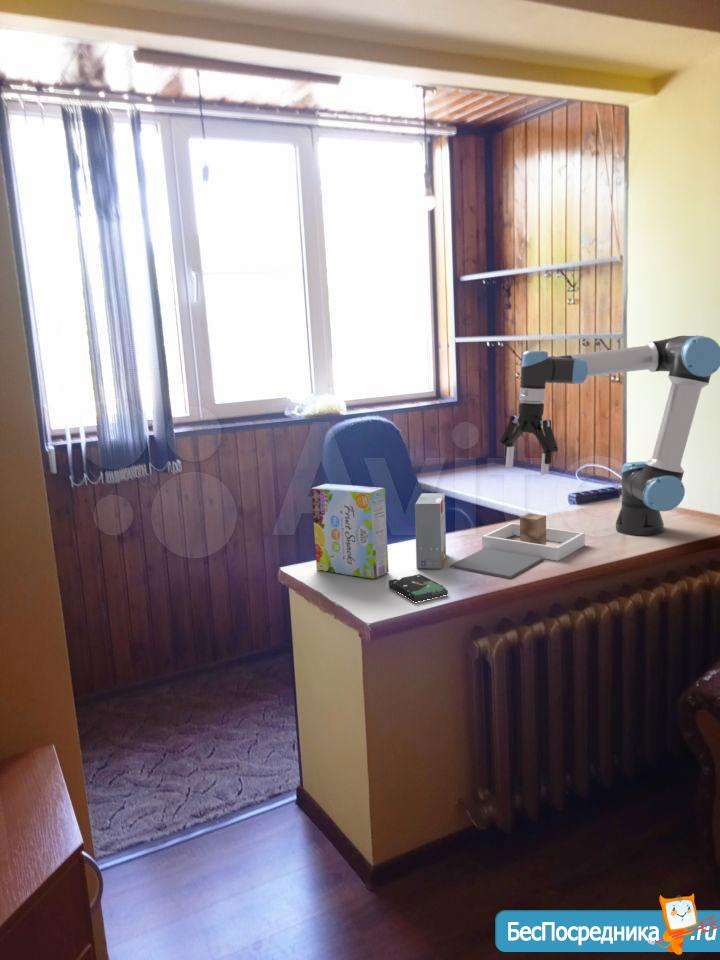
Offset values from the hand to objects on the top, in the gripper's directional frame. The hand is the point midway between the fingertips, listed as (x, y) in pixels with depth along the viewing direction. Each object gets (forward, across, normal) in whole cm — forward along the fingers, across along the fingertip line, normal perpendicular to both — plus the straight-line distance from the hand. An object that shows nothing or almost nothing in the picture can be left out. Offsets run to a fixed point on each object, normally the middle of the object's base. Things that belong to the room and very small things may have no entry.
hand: (526, 470), depth 236 cm
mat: (+26, +4, -16) cm, 31 cm away
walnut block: (+25, +2, +4) cm, 25 cm away
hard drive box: (+28, -12, -28) cm, 41 cm away
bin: (+25, +2, +4) cm, 25 cm away
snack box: (+30, -23, -50) cm, 62 cm away
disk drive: (+29, +4, -49) cm, 57 cm away
